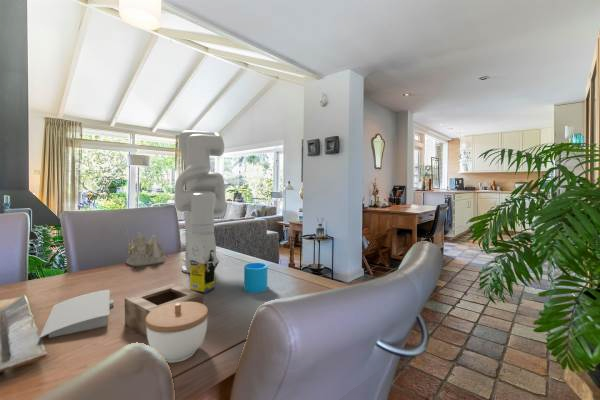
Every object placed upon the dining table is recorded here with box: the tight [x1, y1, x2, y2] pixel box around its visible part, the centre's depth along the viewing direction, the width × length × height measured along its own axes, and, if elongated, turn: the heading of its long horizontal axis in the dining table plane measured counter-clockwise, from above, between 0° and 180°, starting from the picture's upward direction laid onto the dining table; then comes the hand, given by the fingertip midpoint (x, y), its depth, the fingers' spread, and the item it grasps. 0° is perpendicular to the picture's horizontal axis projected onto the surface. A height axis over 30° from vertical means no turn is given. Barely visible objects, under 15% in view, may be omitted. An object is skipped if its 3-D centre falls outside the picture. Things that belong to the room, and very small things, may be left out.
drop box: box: [124, 283, 204, 338], centre depth 79 cm, size 14×14×7 cm
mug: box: [243, 262, 268, 294], centre depth 106 cm, size 12×8×8 cm
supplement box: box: [189, 260, 216, 295], centre depth 102 cm, size 6×6×11 cm
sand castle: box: [125, 231, 167, 266], centre depth 138 cm, size 16×16×15 cm
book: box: [39, 289, 114, 339], centre depth 81 cm, size 15×23×4 cm, turn 33°
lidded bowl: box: [145, 301, 209, 364], centre depth 65 cm, size 13×13×11 cm
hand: (202, 279), depth 102 cm, fingers closed on supplement box, 6 cm apart
